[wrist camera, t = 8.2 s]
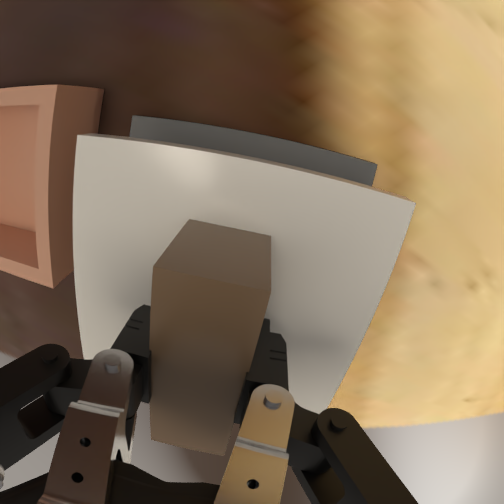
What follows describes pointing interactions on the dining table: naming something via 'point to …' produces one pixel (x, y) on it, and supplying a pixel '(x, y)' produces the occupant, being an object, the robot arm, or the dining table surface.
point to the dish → (41, 176)
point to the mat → (254, 147)
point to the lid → (226, 271)
